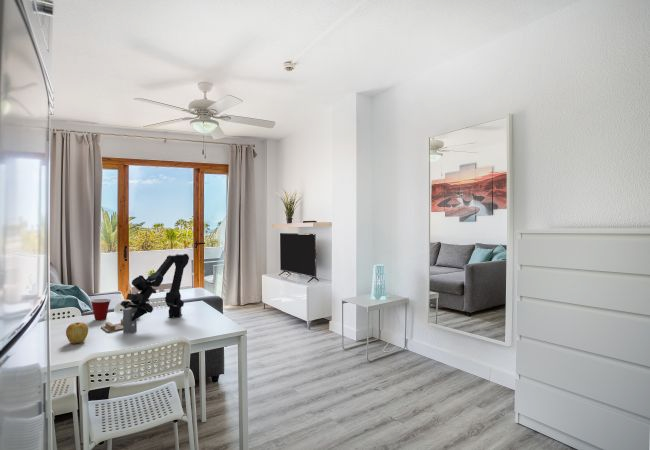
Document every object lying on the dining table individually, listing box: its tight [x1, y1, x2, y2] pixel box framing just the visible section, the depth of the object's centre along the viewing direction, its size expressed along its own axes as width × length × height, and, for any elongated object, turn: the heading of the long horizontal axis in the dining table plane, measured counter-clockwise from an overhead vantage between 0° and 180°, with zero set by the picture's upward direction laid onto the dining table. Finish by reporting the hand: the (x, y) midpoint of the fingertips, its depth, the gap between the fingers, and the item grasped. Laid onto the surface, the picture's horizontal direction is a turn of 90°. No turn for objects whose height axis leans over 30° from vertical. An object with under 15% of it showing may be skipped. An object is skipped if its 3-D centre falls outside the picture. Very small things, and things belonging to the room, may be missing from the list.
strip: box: [122, 307, 138, 334], centre depth 200 cm, size 4×5×13 cm
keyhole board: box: [100, 318, 123, 334], centre depth 207 cm, size 14×12×3 cm
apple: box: [65, 321, 89, 344], centre depth 183 cm, size 9×9×10 cm
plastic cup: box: [90, 298, 112, 322], centre depth 225 cm, size 11×11×12 cm
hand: (127, 320), depth 198 cm, fingers open, 6 cm apart
